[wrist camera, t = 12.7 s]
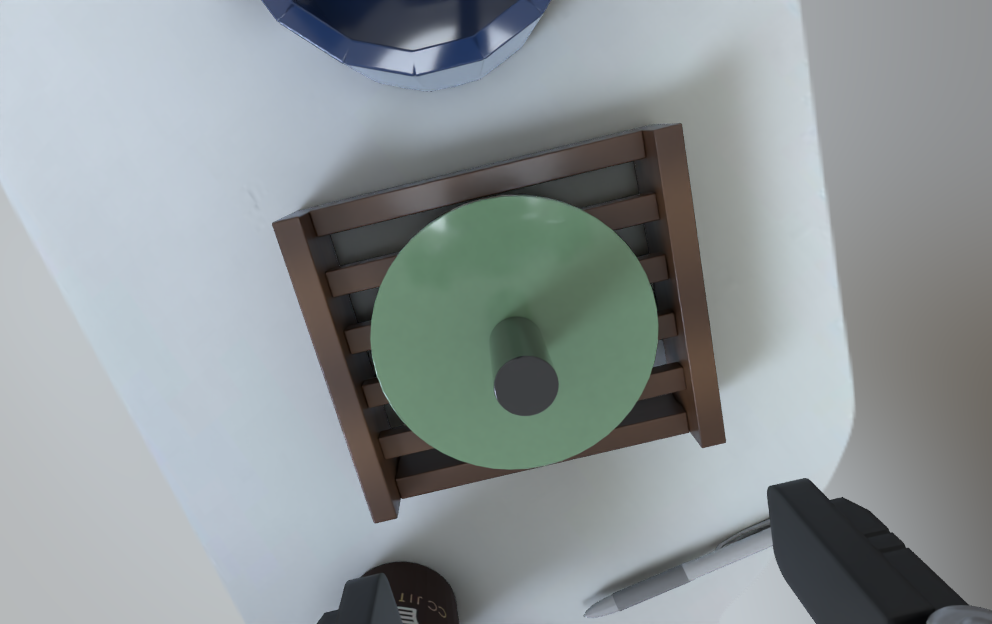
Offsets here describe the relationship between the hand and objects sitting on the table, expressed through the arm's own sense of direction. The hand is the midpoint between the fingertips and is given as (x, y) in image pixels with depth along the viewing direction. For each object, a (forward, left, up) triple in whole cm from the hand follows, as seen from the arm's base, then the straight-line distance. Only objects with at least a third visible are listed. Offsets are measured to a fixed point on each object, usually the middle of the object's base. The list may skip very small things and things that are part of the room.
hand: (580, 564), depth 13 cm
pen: (+17, +7, -20) cm, 27 cm away
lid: (0, 0, -16) cm, 16 cm away
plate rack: (0, 0, -19) cm, 19 cm away
